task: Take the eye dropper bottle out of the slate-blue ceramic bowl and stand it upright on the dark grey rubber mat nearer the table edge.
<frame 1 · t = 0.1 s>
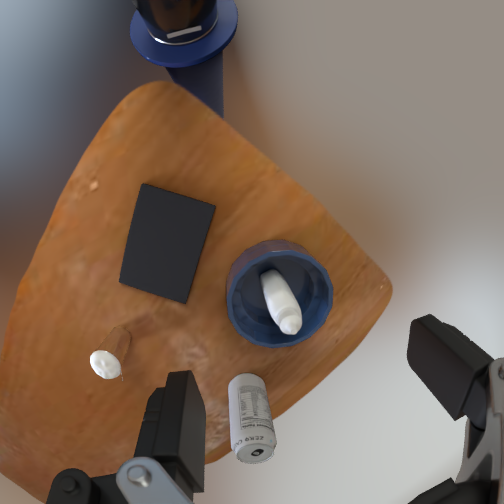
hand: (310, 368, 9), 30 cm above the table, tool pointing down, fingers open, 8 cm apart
mat: (164, 244, 38), on the table
eye dropper bottle: (274, 286, 40), resting on bowl
bowl: (274, 286, 40), on the table
energy drink can: (246, 383, 45), on the table
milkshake: (124, 334, 41), on the table
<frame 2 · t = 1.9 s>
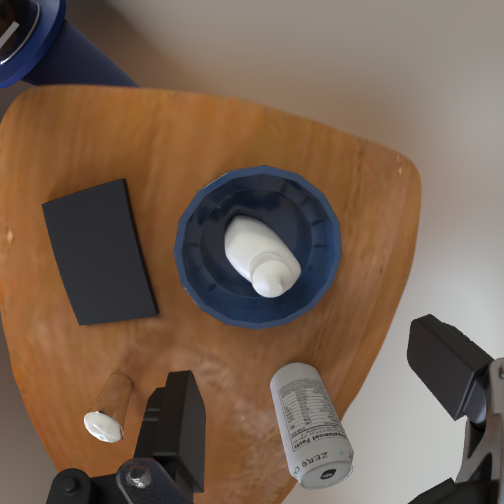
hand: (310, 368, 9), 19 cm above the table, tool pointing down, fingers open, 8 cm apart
mat: (97, 257, 27), on the table
eye dropper bottle: (254, 237, 28), resting on bowl
bowl: (253, 237, 28), on the table
energy drink can: (293, 376, 33), on the table
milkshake: (123, 381, 31), on the table
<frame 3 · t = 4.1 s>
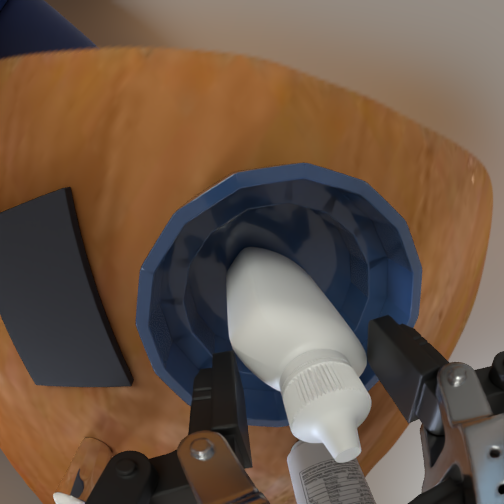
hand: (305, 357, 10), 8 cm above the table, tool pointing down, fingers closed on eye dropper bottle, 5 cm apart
mat: (44, 302, 16), on the table
eye dropper bottle: (273, 281, 17), resting on bowl, touching gripper
bowl: (273, 280, 17), on the table
energy drink can: (315, 445, 23), on the table
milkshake: (100, 445, 21), on the table
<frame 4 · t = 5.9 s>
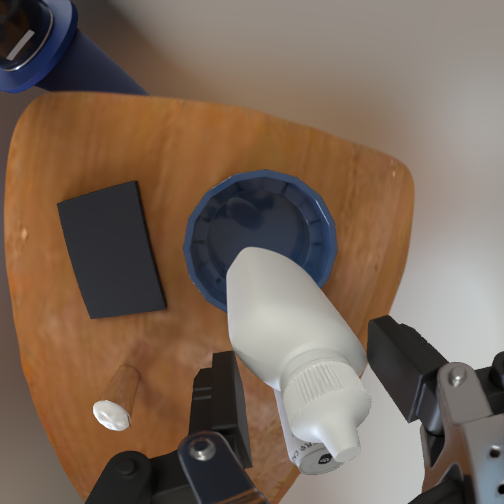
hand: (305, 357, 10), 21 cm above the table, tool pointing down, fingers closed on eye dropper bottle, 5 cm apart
mat: (110, 254, 29), on the table
eye dropper bottle: (273, 281, 17), point 13 cm above the table, touching gripper
bowl: (256, 236, 30), on the table
energy drink can: (293, 369, 35), on the table
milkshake: (131, 373, 34), on the table
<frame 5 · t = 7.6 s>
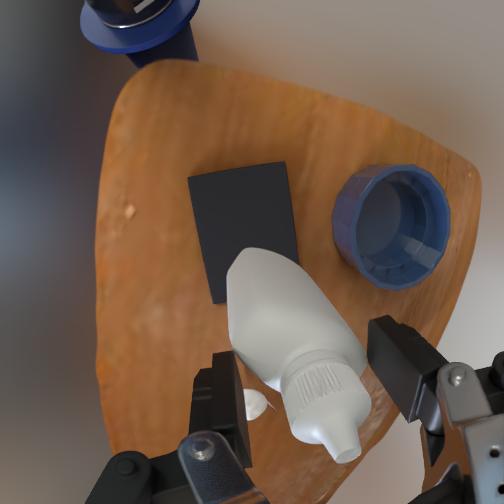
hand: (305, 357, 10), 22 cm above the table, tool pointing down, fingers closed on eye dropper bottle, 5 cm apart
mat: (246, 234, 31), on the table
eye dropper bottle: (273, 281, 17), point 14 cm above the table, touching gripper
bowl: (382, 220, 32), on the table
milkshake: (244, 359, 36), on the table
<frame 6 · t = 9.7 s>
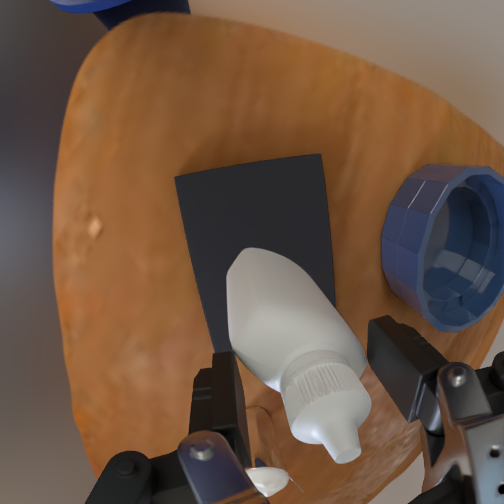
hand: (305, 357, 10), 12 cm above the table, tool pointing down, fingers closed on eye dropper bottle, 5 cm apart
mat: (263, 260, 21), on the table
eye dropper bottle: (273, 282, 17), point 4 cm above the table, touching gripper
bowl: (438, 237, 22), on the table
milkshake: (256, 414, 26), on the table
when the fingers open (8 cm above the table, at t = 11.2 s): eye dropper bottle stays where it is, resting on mat.
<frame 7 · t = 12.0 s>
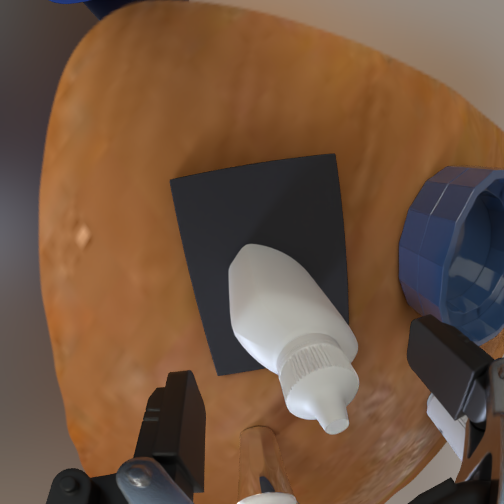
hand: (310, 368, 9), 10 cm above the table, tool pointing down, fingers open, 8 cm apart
mat: (270, 272, 19), on the table
eye dropper bottle: (272, 276, 18), point 1 cm above the table, touching mat
bowl: (456, 245, 20), on the table
energy drink can: (442, 391, 25), on the table
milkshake: (260, 433, 23), on the table
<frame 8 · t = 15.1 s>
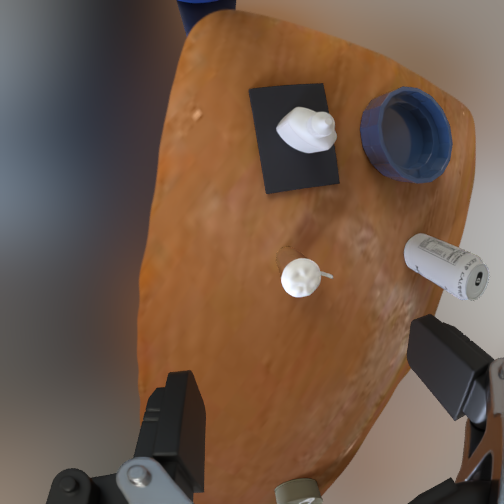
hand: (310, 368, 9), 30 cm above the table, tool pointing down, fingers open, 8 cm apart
mat: (295, 136, 36), on the table
eye dropper bottle: (296, 135, 35), point 1 cm above the table, touching mat
bowl: (397, 136, 37), on the table
can: (295, 487, 59), on the table
energy drink can: (415, 249, 42), on the table
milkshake: (289, 256, 40), on the table
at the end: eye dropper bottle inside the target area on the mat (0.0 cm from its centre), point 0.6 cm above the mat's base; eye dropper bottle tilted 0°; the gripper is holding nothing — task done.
